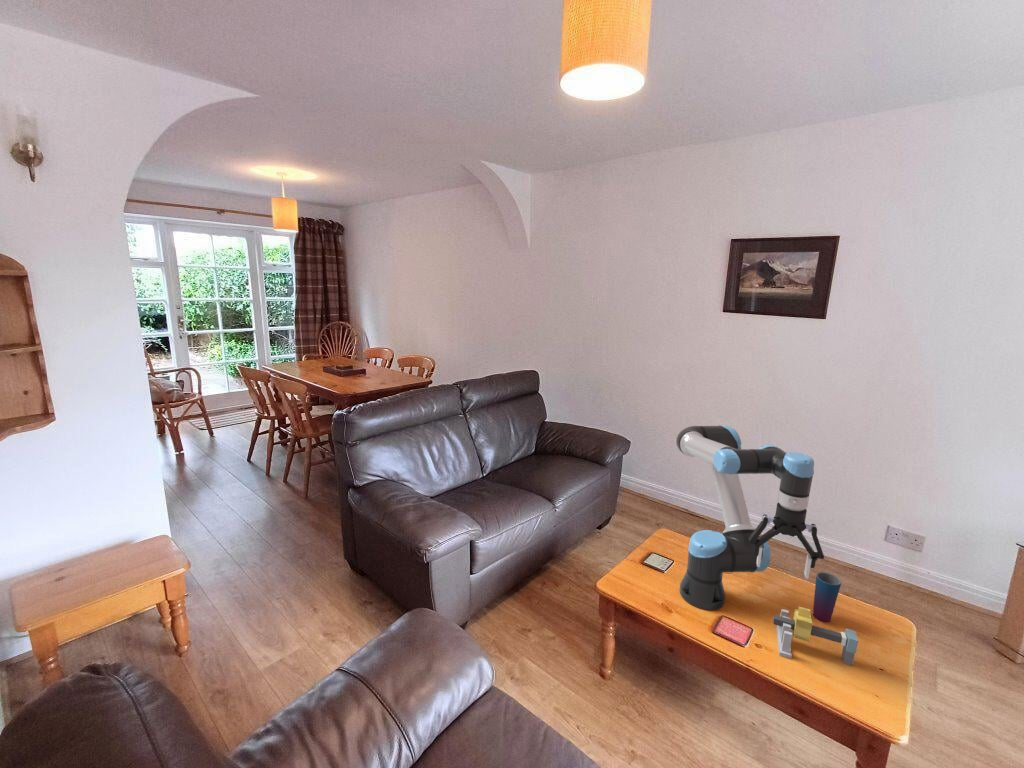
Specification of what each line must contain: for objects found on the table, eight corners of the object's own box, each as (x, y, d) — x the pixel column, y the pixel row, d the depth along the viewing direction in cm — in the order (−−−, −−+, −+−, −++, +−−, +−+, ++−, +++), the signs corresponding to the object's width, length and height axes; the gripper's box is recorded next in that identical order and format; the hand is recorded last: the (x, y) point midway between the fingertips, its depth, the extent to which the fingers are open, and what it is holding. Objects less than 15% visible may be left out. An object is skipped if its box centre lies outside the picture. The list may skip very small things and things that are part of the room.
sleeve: (793, 637, 139) (797, 612, 137) (791, 626, 143) (796, 601, 141) (809, 641, 137) (813, 616, 135) (806, 630, 142) (811, 605, 140)
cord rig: (771, 653, 139) (775, 627, 137) (769, 624, 150) (773, 600, 148) (856, 679, 130) (861, 651, 128) (846, 646, 141) (851, 621, 139)
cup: (826, 627, 149) (833, 587, 146) (805, 614, 155) (812, 575, 151) (838, 620, 152) (845, 581, 149) (817, 607, 158) (823, 569, 155)
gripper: (746, 502, 136) (737, 566, 141) (844, 520, 126) (831, 589, 131) (745, 491, 142) (737, 553, 147) (838, 508, 132) (826, 573, 137)
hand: (781, 570), depth 139 cm, fingers open, 12 cm apart
